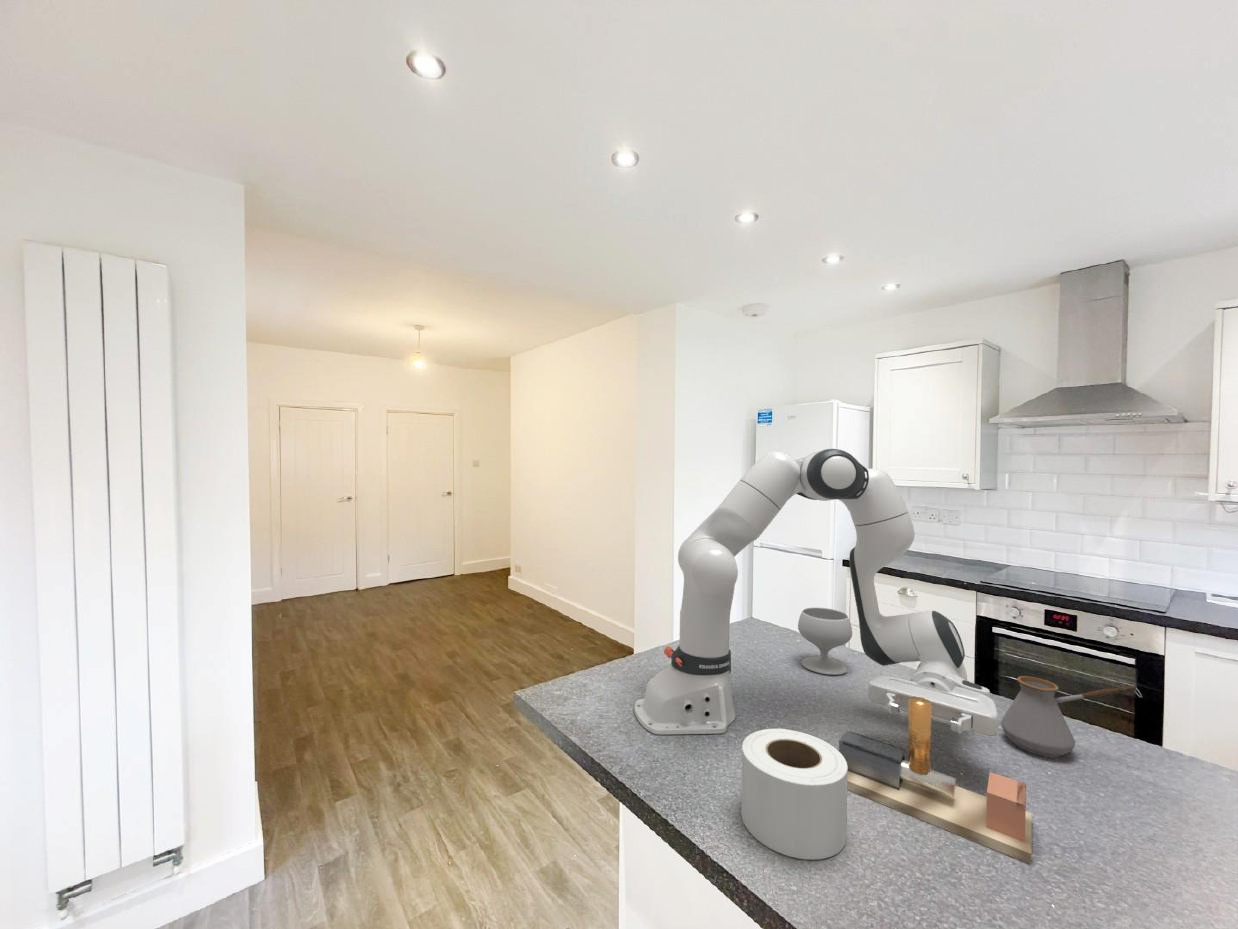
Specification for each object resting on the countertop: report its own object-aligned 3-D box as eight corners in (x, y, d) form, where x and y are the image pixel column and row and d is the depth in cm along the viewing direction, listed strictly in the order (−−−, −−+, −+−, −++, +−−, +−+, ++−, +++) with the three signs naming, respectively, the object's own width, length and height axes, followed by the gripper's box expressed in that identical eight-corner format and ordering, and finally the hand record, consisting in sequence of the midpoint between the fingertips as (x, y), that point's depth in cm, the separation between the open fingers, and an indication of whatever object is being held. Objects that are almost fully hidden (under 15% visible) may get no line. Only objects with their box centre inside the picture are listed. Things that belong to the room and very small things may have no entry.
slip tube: (849, 763, 88) (850, 685, 89) (854, 756, 91) (855, 679, 91) (953, 802, 78) (954, 714, 79) (955, 793, 81) (957, 707, 81)
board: (830, 782, 87) (830, 774, 87) (848, 755, 95) (848, 747, 95) (1031, 864, 69) (1031, 854, 69) (1031, 822, 78) (1031, 813, 78)
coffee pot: (1010, 754, 97) (1011, 677, 97) (993, 726, 107) (994, 657, 107) (1158, 784, 88) (1159, 699, 88) (1123, 750, 99) (1124, 675, 99)
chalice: (788, 658, 144) (789, 606, 144) (834, 657, 146) (834, 606, 146) (812, 678, 130) (813, 621, 130) (862, 677, 132) (863, 620, 132)
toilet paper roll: (755, 779, 88) (756, 718, 88) (851, 811, 80) (852, 744, 80) (728, 834, 74) (729, 762, 74) (839, 879, 66) (841, 798, 66)
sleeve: (838, 767, 89) (839, 740, 89) (846, 755, 93) (846, 730, 93) (898, 790, 83) (899, 761, 83) (904, 777, 86) (905, 749, 86)
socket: (986, 827, 74) (986, 792, 74) (989, 805, 79) (989, 772, 80) (1024, 842, 72) (1025, 805, 72) (1025, 818, 77) (1026, 783, 77)
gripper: (876, 661, 103) (859, 682, 93) (1000, 691, 90) (996, 720, 80) (876, 691, 103) (858, 716, 93) (999, 726, 90) (995, 759, 80)
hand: (923, 718), depth 86 cm, fingers open, 8 cm apart
